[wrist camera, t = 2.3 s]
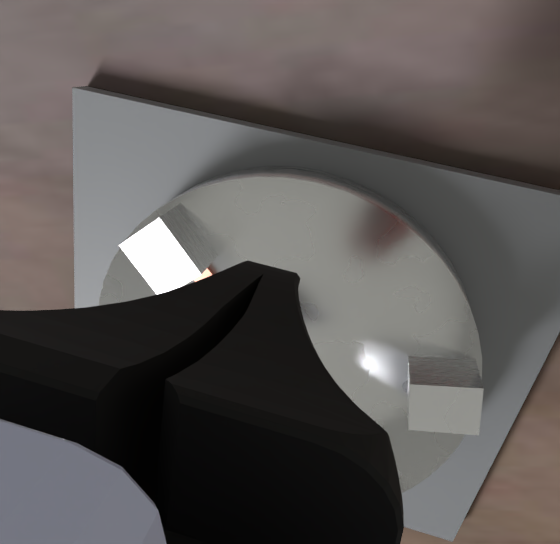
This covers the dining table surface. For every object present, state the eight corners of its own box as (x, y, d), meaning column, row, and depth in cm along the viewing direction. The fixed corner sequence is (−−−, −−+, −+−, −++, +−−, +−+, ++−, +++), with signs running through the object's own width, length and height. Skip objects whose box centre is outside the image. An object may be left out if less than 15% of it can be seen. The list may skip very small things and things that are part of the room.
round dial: (409, 516, 24) (412, 591, 21) (115, 427, 26) (74, 482, 23) (538, 220, 17) (574, 260, 14) (127, 126, 19) (70, 141, 16)
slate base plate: (450, 524, 25) (452, 545, 24) (86, 413, 28) (73, 427, 27) (610, 201, 18) (625, 210, 17) (86, 86, 20) (69, 87, 19)
